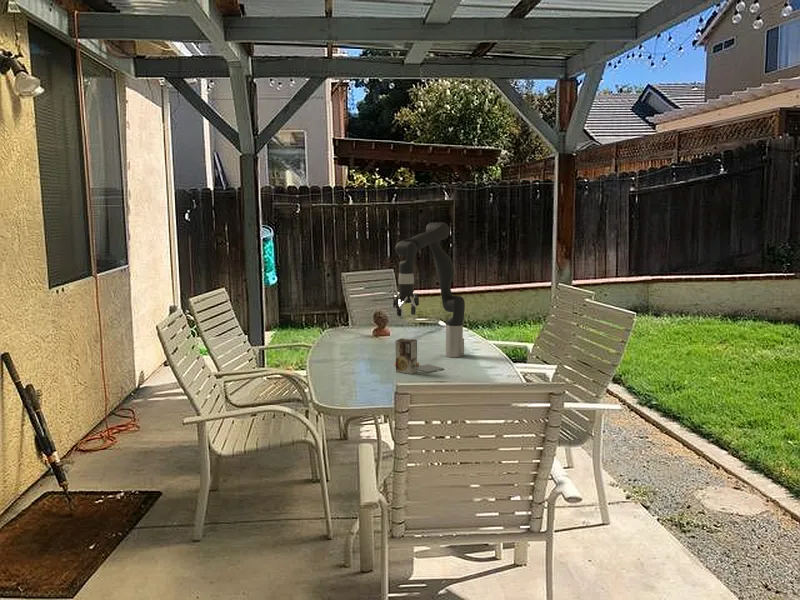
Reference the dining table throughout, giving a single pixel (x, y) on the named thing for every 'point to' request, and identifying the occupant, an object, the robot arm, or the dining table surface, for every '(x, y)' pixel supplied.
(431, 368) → the rubber mat
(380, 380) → the dining table surface
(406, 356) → the coffee box
